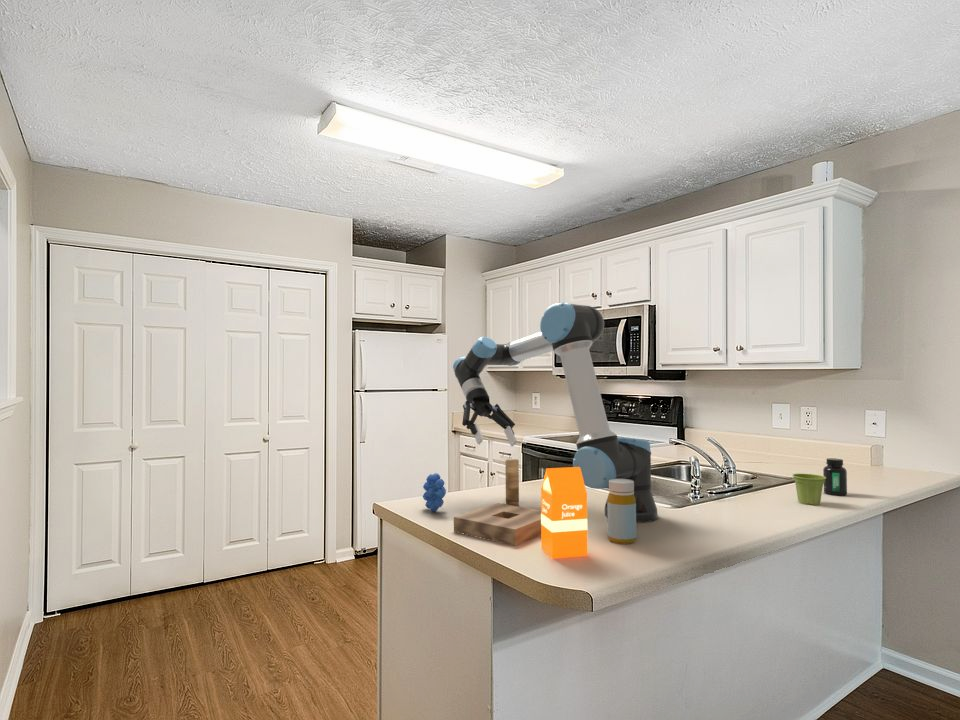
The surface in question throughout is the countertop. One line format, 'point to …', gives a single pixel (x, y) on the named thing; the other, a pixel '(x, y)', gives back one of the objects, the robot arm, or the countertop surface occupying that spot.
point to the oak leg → (512, 482)
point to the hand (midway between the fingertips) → (497, 442)
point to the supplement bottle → (835, 478)
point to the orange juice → (564, 513)
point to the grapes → (434, 492)
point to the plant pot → (809, 488)
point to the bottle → (621, 511)
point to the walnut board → (501, 523)
